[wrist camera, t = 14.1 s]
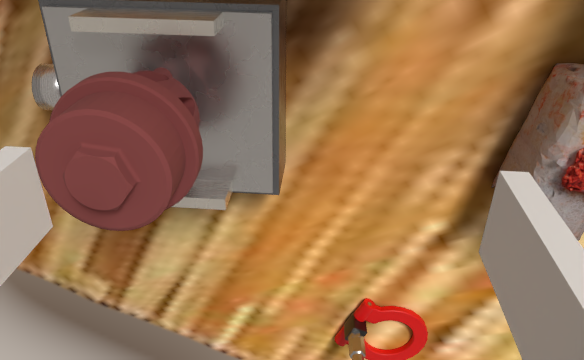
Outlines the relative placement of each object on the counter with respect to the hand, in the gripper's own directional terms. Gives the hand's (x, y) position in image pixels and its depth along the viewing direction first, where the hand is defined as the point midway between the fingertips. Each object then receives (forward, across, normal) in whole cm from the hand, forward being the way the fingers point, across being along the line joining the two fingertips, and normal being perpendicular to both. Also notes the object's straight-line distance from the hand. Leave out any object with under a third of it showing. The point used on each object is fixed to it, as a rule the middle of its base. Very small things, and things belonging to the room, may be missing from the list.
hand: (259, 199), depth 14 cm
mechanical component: (+24, -11, -7) cm, 28 cm away
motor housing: (+31, -13, -7) cm, 34 cm away
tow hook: (+31, +10, -37) cm, 49 cm away
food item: (+31, +23, -10) cm, 40 cm away
